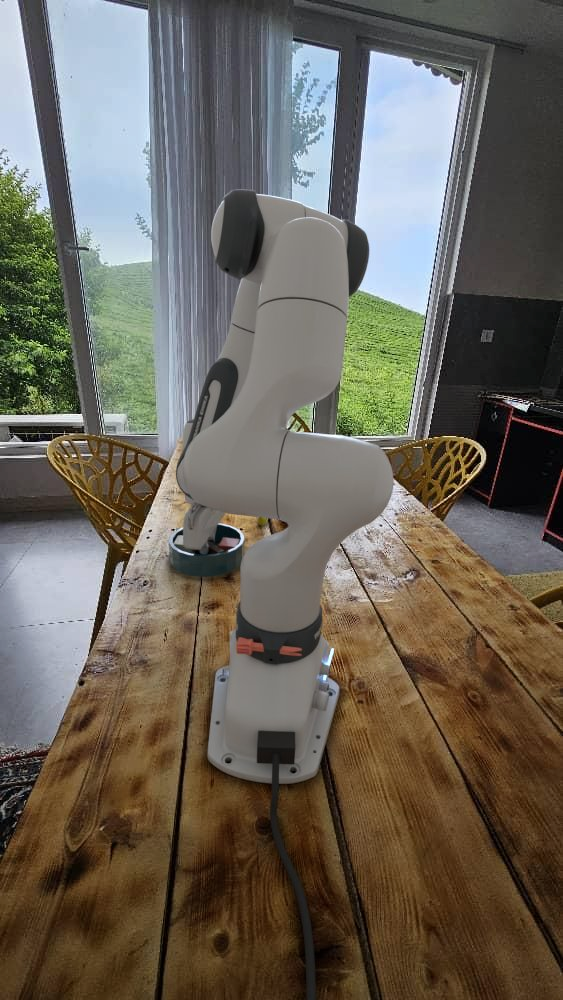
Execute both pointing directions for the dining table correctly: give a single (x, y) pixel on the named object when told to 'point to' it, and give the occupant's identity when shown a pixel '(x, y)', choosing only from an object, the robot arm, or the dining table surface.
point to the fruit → (261, 521)
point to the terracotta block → (228, 543)
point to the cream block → (179, 544)
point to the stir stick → (213, 549)
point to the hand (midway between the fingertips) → (207, 548)
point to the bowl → (208, 555)
